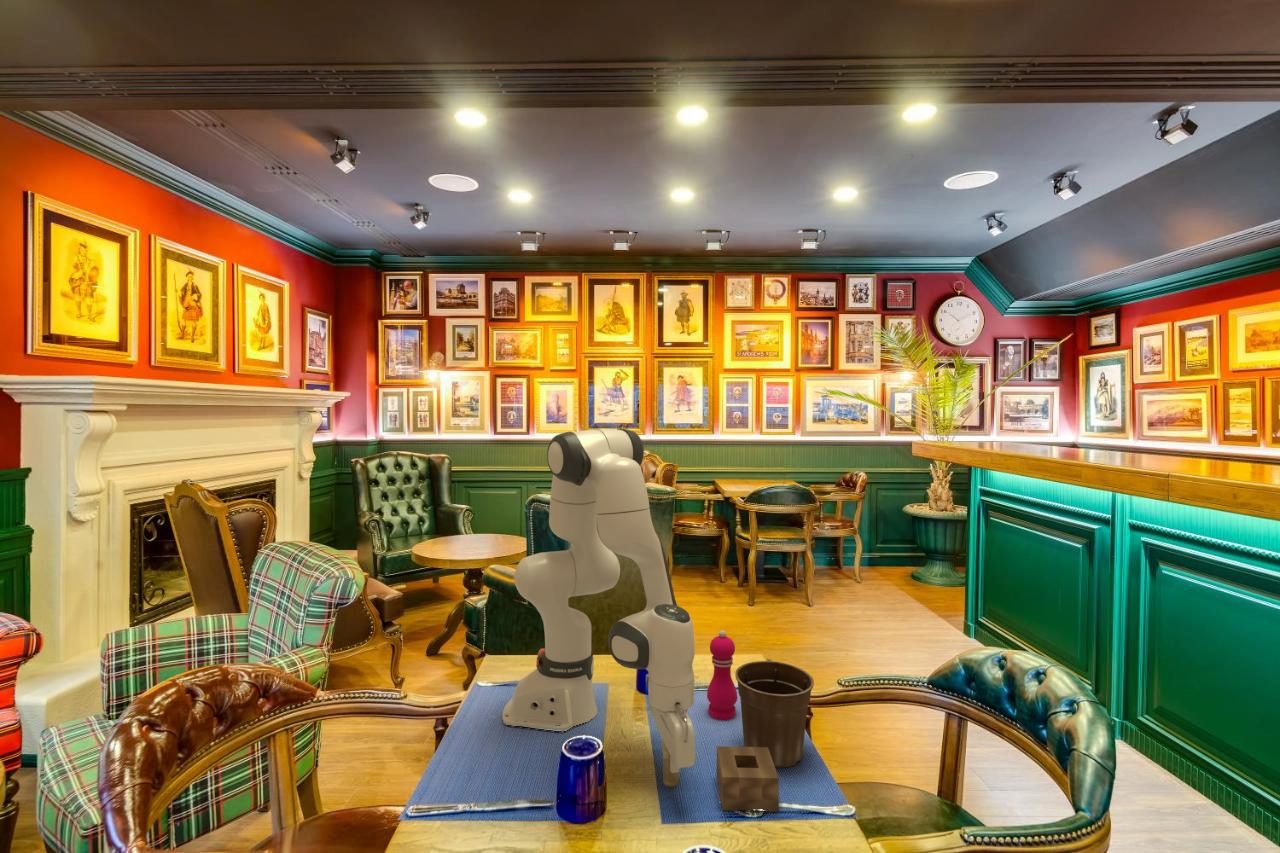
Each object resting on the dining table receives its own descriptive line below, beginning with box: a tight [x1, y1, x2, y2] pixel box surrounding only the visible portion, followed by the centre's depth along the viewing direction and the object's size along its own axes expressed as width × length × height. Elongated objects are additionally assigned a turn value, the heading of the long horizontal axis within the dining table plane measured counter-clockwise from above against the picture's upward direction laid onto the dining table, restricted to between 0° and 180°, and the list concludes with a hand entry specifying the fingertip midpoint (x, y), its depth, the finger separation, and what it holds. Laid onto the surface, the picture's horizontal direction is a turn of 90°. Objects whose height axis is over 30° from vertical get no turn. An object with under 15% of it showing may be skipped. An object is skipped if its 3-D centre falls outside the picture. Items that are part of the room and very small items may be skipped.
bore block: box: [716, 745, 780, 813], centre depth 109 cm, size 10×10×6 cm
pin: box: [662, 741, 680, 788], centre depth 112 cm, size 3×3×10 cm
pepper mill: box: [706, 629, 738, 721], centre depth 139 cm, size 7×7×20 cm
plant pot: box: [734, 660, 815, 769], centre depth 123 cm, size 16×16×16 cm
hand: (670, 763), depth 112 cm, fingers open, 3 cm apart
